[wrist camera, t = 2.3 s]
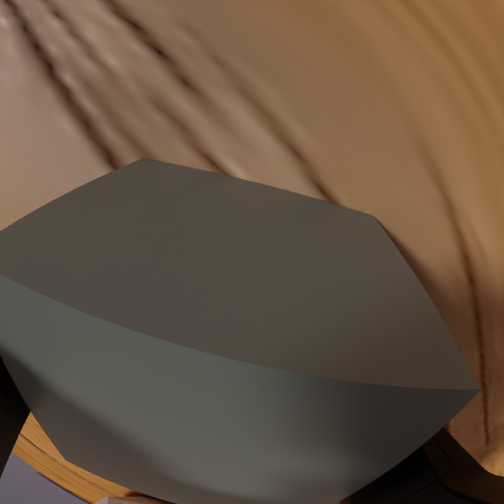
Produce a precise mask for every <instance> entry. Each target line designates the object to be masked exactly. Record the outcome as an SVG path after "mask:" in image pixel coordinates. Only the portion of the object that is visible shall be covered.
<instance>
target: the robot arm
mask: <svg viewBox="0 0 504 504" xmlns="http://www.w3.org/2000/svg"><path fill="white" fill-rule="evenodd" d="M30 411H31V410H30V409H29V407H28V406H27V404H26V402H25V401H24V399H23V397H22V395H21V394H20V392H19V390H18V388H17V387H16V385H15V383H14V381H13V379H12V377H11V376H10V374H9V372H8V370H7V368H6V366H5V364H4V362H3V360H2V357H1V355H0V478H1V475H2V473H3V470H4V468H5V465H6V463H7V461H8V458H9V456H10V453H11V451H12V449H13V447H14V445H15V443H16V440H17V438H18V435H19V434H20V432H21V429H22V427H23V425H24V423H25V421H26V419H27V417H28V415H29V413H30ZM350 504H504V477H503V476H497V475H494V474H492V473H489V472H488V471H486V470H485V469H484V468H483V467H482V466H481V465H480V464H479V463H478V462H477V461H476V460H475V459H474V458H473V457H472V456H471V455H470V454H469V453H468V452H467V451H466V450H465V449H464V448H463V447H462V446H461V445H460V444H459V443H458V442H457V441H456V440H455V439H454V438H453V437H452V435H451V434H450V433H449V432H448V431H447V430H446V429H445V427H444V426H443V427H442V428H441V429H440V430H439V431H438V432H437V433H436V434H435V435H433V436H432V437H431V438H430V439H429V440H428V441H426V442H425V443H424V444H423V445H422V446H420V447H419V448H418V449H417V450H415V451H414V452H413V453H412V454H410V455H409V456H408V457H406V458H405V459H404V460H402V461H401V462H400V463H398V464H397V465H396V466H394V467H393V468H391V469H390V470H389V471H387V472H386V473H384V474H383V475H381V476H380V477H378V478H377V479H375V480H374V481H372V482H371V483H369V484H368V485H366V486H364V487H363V488H361V489H360V490H358V491H356V492H355V493H353V494H351V495H350Z"/></svg>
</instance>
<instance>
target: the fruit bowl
mask: <svg viewBox="0 0 504 504" xmlns="http://www.w3.org/2000/svg"><path fill="white" fill-rule="evenodd" d="M95 504H174V503H169V502H165V501H161V500H157V499H153V498H149V497H145V496H135V497H106V498H104V499H102V500H101V501H99V502H97V503H95Z"/></svg>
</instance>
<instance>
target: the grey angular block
mask: <svg viewBox="0 0 504 504" xmlns="http://www.w3.org/2000/svg"><path fill="white" fill-rule="evenodd" d="M0 355H1V357H2V360H3V362H4V364H5V366H6V368H7V370H8V372H9V374H10V376H11V377H12V379H13V381H14V383H15V385H16V387H17V388H18V390H19V392H20V394H21V395H22V397H23V399H24V401H25V402H26V404H27V406H28V407H29V409H30V410H31V412H32V414H33V415H34V417H35V418H36V420H37V421H38V423H39V424H40V426H41V427H42V429H43V430H44V432H45V433H46V435H47V436H48V437H49V439H50V440H51V441H52V443H53V444H54V446H55V447H56V448H57V450H58V451H59V452H60V453H61V455H62V456H63V457H64V459H65V460H66V461H68V462H70V463H72V464H74V465H76V466H78V467H80V468H82V469H84V470H86V471H89V472H91V473H93V474H95V475H97V476H100V477H102V478H104V479H106V480H109V481H111V482H114V483H116V484H119V485H121V486H124V487H126V488H129V489H132V490H135V491H137V492H140V493H143V494H146V495H149V496H152V497H156V498H159V499H162V500H166V501H169V502H173V503H176V504H335V503H337V502H339V501H341V500H342V499H344V498H346V497H348V496H349V495H351V494H353V493H355V492H356V491H358V490H360V489H361V488H363V487H364V486H366V485H368V484H369V483H371V482H372V481H374V480H375V479H377V478H378V477H380V476H381V475H383V474H384V473H386V472H387V471H389V470H390V469H391V468H393V467H394V466H396V465H397V464H398V463H400V462H401V461H402V460H404V459H405V458H406V457H408V456H409V455H410V454H412V453H413V452H414V451H415V450H417V449H418V448H419V447H420V446H422V445H423V444H424V443H425V442H426V441H428V440H429V439H430V438H431V437H432V436H433V435H435V434H436V433H437V432H438V431H439V430H440V429H441V428H442V427H443V426H445V425H446V424H447V423H448V422H449V421H450V420H451V419H452V418H453V417H454V416H455V415H456V414H457V413H458V412H459V411H460V410H461V409H462V408H463V407H464V406H465V405H466V404H467V403H468V402H469V401H470V400H471V399H472V398H473V397H474V396H475V395H476V394H477V392H478V391H479V390H480V388H479V386H478V383H477V381H476V379H475V377H474V375H473V373H472V371H471V369H470V367H469V365H468V363H467V361H466V359H465V357H464V355H463V354H462V352H461V350H460V348H459V346H458V344H457V342H456V341H455V339H454V337H453V335H452V333H451V332H450V330H449V328H448V326H447V325H446V323H445V321H444V320H443V318H442V316H441V314H440V313H439V311H438V309H437V308H436V306H435V305H434V303H433V301H432V300H431V298H430V296H429V295H428V293H427V292H426V290H425V289H424V287H423V285H422V284H421V282H420V281H419V279H418V278H417V276H416V275H415V273H414V272H413V270H412V269H411V267H410V266H409V264H408V263H407V262H406V260H405V259H404V257H403V256H402V254H401V253H400V251H399V250H398V249H397V247H396V246H395V244H394V243H393V242H392V240H391V239H390V238H389V236H388V235H387V233H386V232H385V231H384V229H383V228H382V227H381V225H380V224H379V223H378V222H377V220H376V219H375V218H374V216H371V215H368V214H365V213H362V212H359V211H356V210H352V209H349V208H346V207H343V206H339V205H336V204H333V203H329V202H326V201H322V200H319V199H315V198H312V197H308V196H305V195H301V194H298V193H294V192H290V191H287V190H283V189H279V188H275V187H271V186H267V185H263V184H260V183H256V182H252V181H247V180H243V179H239V178H235V177H231V176H226V175H222V174H218V173H213V172H209V171H204V170H200V169H195V168H190V167H185V166H180V165H175V164H170V163H165V162H160V161H155V160H149V159H144V158H143V159H141V160H138V161H136V162H133V163H131V164H129V165H126V166H124V167H121V168H119V169H117V170H115V171H112V172H110V173H108V174H106V175H103V176H101V177H99V178H97V179H95V180H93V181H91V182H89V183H86V184H84V185H82V186H80V187H78V188H76V189H74V190H72V191H70V192H68V193H66V194H64V195H62V196H61V197H59V198H57V199H55V200H53V201H51V202H49V203H47V204H46V205H44V206H42V207H40V208H38V209H37V210H35V211H33V212H31V213H30V214H28V215H26V216H24V217H23V218H21V219H19V220H18V221H16V222H14V223H13V224H11V225H10V226H8V227H6V228H5V229H3V230H2V231H0Z"/></svg>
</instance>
